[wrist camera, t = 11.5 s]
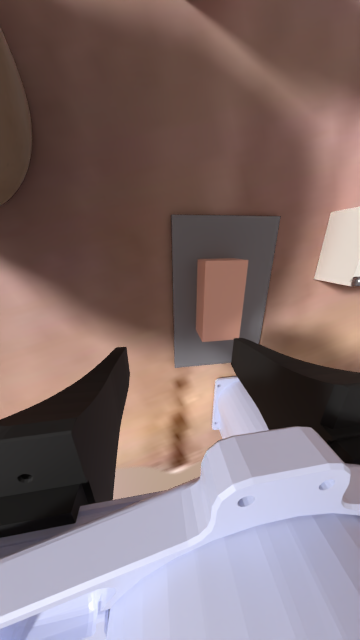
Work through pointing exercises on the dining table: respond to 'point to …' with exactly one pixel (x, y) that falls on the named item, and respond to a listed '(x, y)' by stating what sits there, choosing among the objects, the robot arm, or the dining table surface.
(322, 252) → the panel
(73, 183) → the dining table surface
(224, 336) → the tall pink rectangular block
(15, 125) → the plant pot
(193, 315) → the mat
